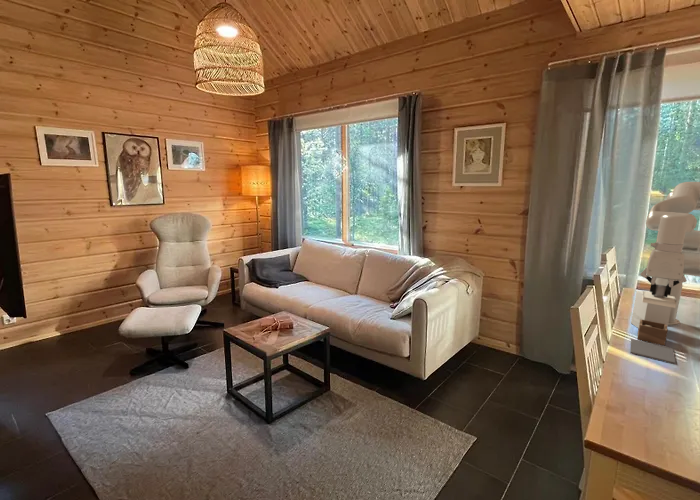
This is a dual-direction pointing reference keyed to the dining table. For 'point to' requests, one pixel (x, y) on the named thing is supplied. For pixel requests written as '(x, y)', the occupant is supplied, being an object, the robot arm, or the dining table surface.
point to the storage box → (652, 332)
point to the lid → (659, 297)
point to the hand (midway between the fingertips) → (659, 294)
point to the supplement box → (649, 311)
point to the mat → (652, 351)
